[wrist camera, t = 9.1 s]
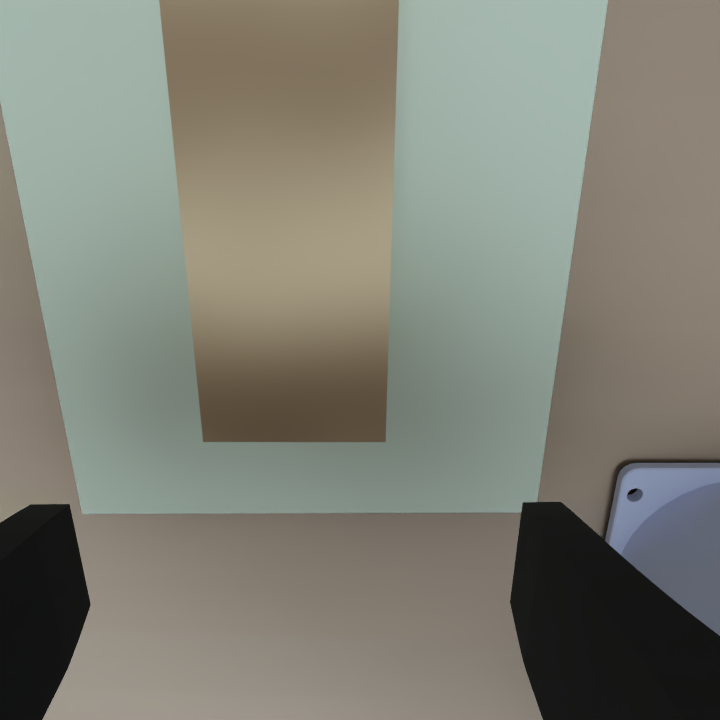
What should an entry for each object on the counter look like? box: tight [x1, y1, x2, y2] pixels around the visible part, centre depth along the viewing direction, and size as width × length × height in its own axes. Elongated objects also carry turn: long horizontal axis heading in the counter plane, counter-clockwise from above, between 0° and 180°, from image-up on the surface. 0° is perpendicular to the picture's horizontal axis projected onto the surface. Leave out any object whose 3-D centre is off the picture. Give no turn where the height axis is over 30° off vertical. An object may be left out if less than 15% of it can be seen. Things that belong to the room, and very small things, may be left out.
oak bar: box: [159, 0, 399, 442], centre depth 13 cm, size 15×4×4 cm, turn 179°
